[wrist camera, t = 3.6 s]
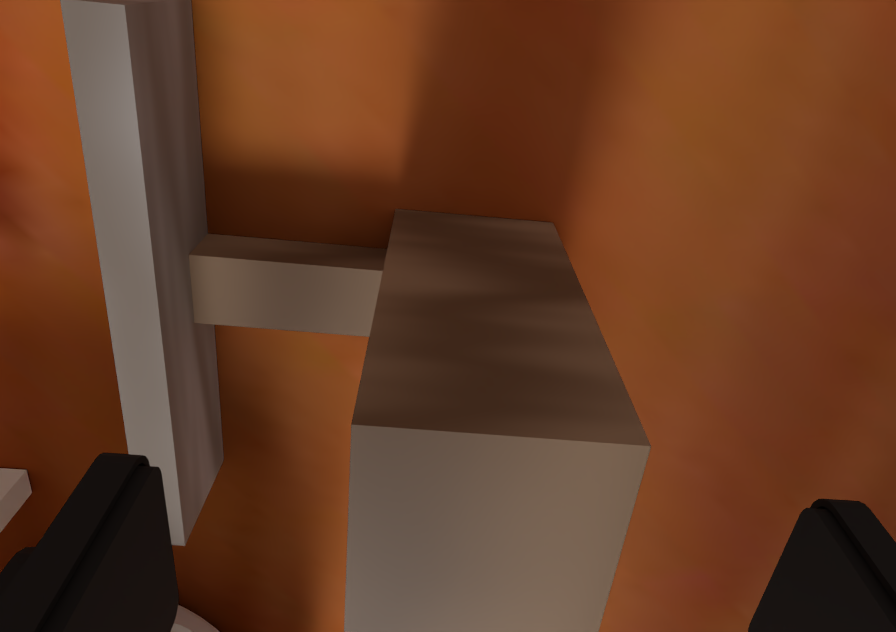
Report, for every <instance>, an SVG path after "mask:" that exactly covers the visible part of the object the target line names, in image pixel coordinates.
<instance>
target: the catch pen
mask: <svg viewBox="0 0 896 632" xmlns="http://www.w3.org/2000/svg"><path fill="white" fill-rule="evenodd" d="M31 494H32V490H31V486H30V482H29V478H28V474H27V470H22V469H7V468H0V533H1V531H2V530H3V529H4V528H5V526H6V525H7V524H8V523H9V521H10V520H11V519H12V517H13V516H14V515H15V514H16V512H17V511H18V510H19V509H20V507H21V506H22V505H23V504H24V502H25V501H26V500H27V499H28V497H29V496H30V495H31Z"/></svg>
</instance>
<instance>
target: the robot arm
mask: <svg viewBox="0 0 896 632" xmlns="http://www.w3.org/2000/svg"><path fill="white" fill-rule="evenodd" d="M178 601H179V595H178V587H177V580H176V572H175V565H174V558H173V551H172V544H171V536H170V529H169V522H168V515H167V508H166V500H165V493H164V486H163V479H162V473H161V469H160V468H159V467H154V466H150V464H149V460H148V458H147V457H146V456H144V455H132V454H116V453H102V454H100V455H99V456H98V457H97V458H96V459H95V460H94V462H93V463H92V465H91V466H90V468H89V469H88V471H87V472H86V474H85V475H84V477H83V478H82V480H81V481H80V482H79V484H78V485H77V487H76V488H75V490H74V491H73V493H72V494H71V496H70V497H69V499H68V500H67V502H66V503H65V505H64V506H63V508H62V509H61V510H60V512H59V513H58V515H57V516H56V518H55V519H54V521H53V522H52V524H51V525H50V527H49V528H48V530H47V531H46V533H45V534H44V536H43V537H42V538H41V540H40V541H39V543H38V544H37V546H36V547H25V548H24V549H22V550H21V551H19V552H17V553H16V554H15V555H14V557H13V558H12V559H11V560H10V561H9V562H8V564H7V565H6V566H5V568H4V569H3V571H2V572H1V573H0V632H171V629H172V627H173V624H174V621H175V618H176V614H177V609H178ZM748 632H896V542H895V541H894V540H893V538H892V537H891V536H890V535H889V533H888V532H887V531H886V529H885V528H884V527H883V526H882V524H881V523H880V522H879V520H878V519H877V518H876V516H875V515H874V514H873V513H872V511H871V510H870V509H869V508H868V507H867V506H866V505H865V504H864V503H861V502H859V501H848V500H833V499H818V500H816V501H815V502H813V504H812V505H811V507H810V508H806V509H804V510H803V511H802V512H801V514H800V516H799V518H798V520H797V522H796V524H795V527H794V529H793V531H792V533H791V535H790V538H789V540H788V542H787V544H786V546H785V548H784V551H783V553H782V555H781V557H780V559H779V562H778V564H777V566H776V568H775V570H774V572H773V575H772V577H771V579H770V581H769V583H768V586H767V588H766V590H765V592H764V594H763V596H762V599H761V601H760V603H759V605H758V607H757V610H756V612H755V614H754V616H753V618H752V620H751V623H750V625H749V628H748Z"/></svg>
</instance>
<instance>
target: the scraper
mask: <svg viewBox="0 0 896 632" xmlns="http://www.w3.org/2000/svg"><path fill="white" fill-rule="evenodd" d="M60 1H61V8H62V15H63V21H64V28H65V35H66V41H67V48H68V55H69V61H70V68H71V75H72V81H73V88H74V94H75V101H76V108H77V114H78V121H79V128H80V134H81V141H82V148H83V154H84V161H85V167H86V174H87V181H88V187H89V194H90V201H91V207H92V214H93V221H94V227H95V234H96V241H97V247H98V254H99V260H100V267H101V274H102V280H103V287H104V294H105V300H106V307H107V314H108V320H109V327H110V333H111V340H112V347H113V353H114V360H115V367H116V373H117V380H118V387H119V393H120V400H121V406H122V413H123V420H124V426H125V433H126V440H127V446H128V453H129V454H132V455H144V456H146V457H147V458H148V460H149V464H150V466H154V467H159V468H160V469H161V473H162V479H163V486H164V493H165V500H166V508H167V515H168V522H169V529H170V536H171V544H172V545H182V546H185V545H186V543H187V540H188V538H189V536H190V534H191V531H192V529H193V527H194V525H195V523H196V520H197V518H198V516H199V514H200V512H201V509H202V507H203V505H204V503H205V500H206V498H207V496H208V494H209V492H210V489H211V487H212V485H213V483H214V481H215V478H216V476H217V474H218V472H219V470H220V467H221V465H222V463H223V461H224V453H223V439H222V425H221V411H220V397H219V383H218V369H217V355H216V341H215V327H214V325H227V326H240V327H252V328H265V329H278V330H291V331H303V332H316V333H329V334H341V335H354V336H367V337H369V341H368V346H367V351H366V356H365V361H364V366H363V370H362V375H361V380H360V385H359V390H358V395H357V400H356V405H355V409H354V414H353V419H352V424H351V451H350V479H349V508H348V537H347V565H346V594H345V623H344V632H598V631H599V628H600V624H601V621H602V617H603V614H604V610H605V607H606V603H607V599H608V596H609V592H610V589H611V585H612V582H613V578H614V575H615V571H616V568H617V564H618V561H619V557H620V554H621V550H622V547H623V543H624V540H625V536H626V533H627V529H628V526H629V522H630V519H631V515H632V512H633V508H634V505H635V501H636V498H637V494H638V491H639V487H640V484H641V480H642V476H643V473H644V469H645V466H646V462H647V459H648V455H649V452H650V448H651V445H650V443H649V440H648V438H647V436H646V434H645V431H644V429H643V427H642V424H641V422H640V420H639V418H638V415H637V413H636V411H635V408H634V406H633V404H632V402H631V399H630V397H629V395H628V392H627V390H626V388H625V386H624V383H623V381H622V379H621V376H620V374H619V372H618V370H617V367H616V365H615V363H614V361H613V358H612V356H611V354H610V351H609V349H608V347H607V345H606V342H605V340H604V338H603V335H602V333H601V331H600V329H599V326H598V324H597V322H596V319H595V317H594V315H593V313H592V310H591V308H590V306H589V303H588V301H587V299H586V297H585V294H584V292H583V290H582V287H581V285H580V283H579V281H578V278H577V276H576V274H575V271H574V269H573V267H572V265H571V262H570V260H569V258H568V255H567V253H566V251H565V249H564V246H563V244H562V242H561V240H560V237H559V235H558V233H557V230H556V228H555V226H554V224H553V223H552V222H540V221H529V220H517V219H506V218H495V217H483V216H472V215H460V214H449V213H438V212H426V211H415V210H403V209H395V214H394V219H393V224H392V229H391V234H390V239H389V243H388V248H387V249H383V248H371V247H360V246H348V245H336V244H324V243H313V242H301V241H289V240H277V239H265V238H254V237H242V236H230V235H218V234H208V229H207V215H206V201H205V187H204V172H203V158H202V144H201V130H200V116H199V102H198V88H197V74H196V60H195V46H194V32H193V18H192V4H191V0H60Z"/></svg>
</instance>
